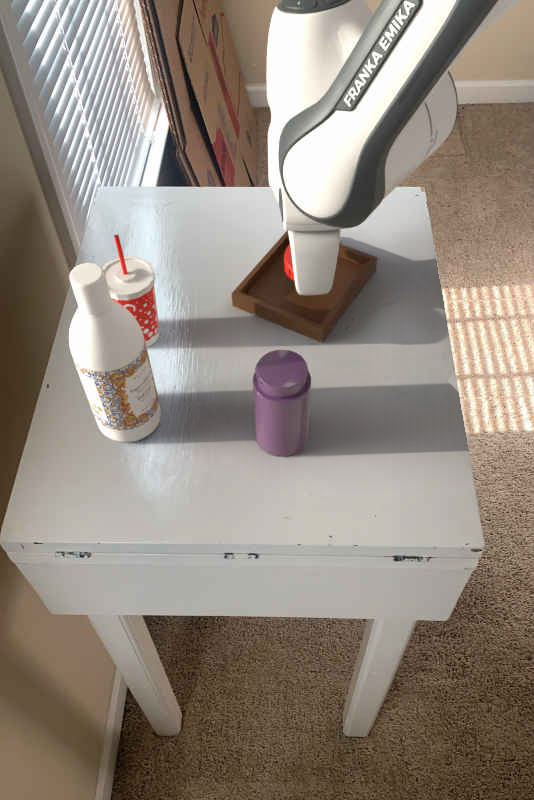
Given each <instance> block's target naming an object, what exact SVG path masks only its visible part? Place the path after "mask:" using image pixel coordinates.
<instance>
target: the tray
mask: <svg viewBox="0 0 534 800" xmlns="http://www.w3.org/2000/svg"><path fill="white" fill-rule="evenodd" d="M289 245H290V240H289V234H288V231H286V230H285V232H284V233H283V234H282V235H281V237H280V238H279V239H278V240H277V241H276V242H275V243H274V244H273V245H272V247H271V248H270V249H269V250H268V252H267V253H266V254H265V255H264V256H263V257H262V258H261V259H260V261H259V262H258V263H257V264H256V265H255V266H254V267H253V268H252V269H251V270H250V272H249V273H248V274H247V275H246V276H245V277H244V278H243V279H242V281H241V282H240V283H239V285H238V286H236V288H234V290H233V291H232V292H231V304H232V305H231V306H232V307H235V308H236V309H240V310H242V311H244V312H247V313H249V314H252V315H254V316H256V317H258V318H262V319H264V320H266V321H268V322H271V323H273V324H275V325H278V326H281V327H283V328H286V329H289V330H290V331H293V332H295V333H297V334H299V335H303V336H304V337H307V338H310V339H312V340H314V341H316V342H319V343H320V344H321V343H323V342H324V341H325V339H326V338H327V337H328V335H330V333H331V332H332V330H333V328H334V327H335V326H336V325H337V323H338V322H339V321H340V319H341V318H342V316H343V315H344V313H346V311H347V310H348V308H350V306H351V304H352V303H353V301H354V300H355V299H356V298H357V296H358V295H359V293H360V292H361V291H362V290H363V288H364V287H365V286H366V284H367V283H368V282H369V280H370V279H371V277H372V276H373V275H374V273H375V272H376V270H377V265H378V257H377V256H374V255H372V254H369V253H366V252H364V251H361V250H358V249H355V248H352V247H351V246H348V245H345V244H342V243H339V250H338V257H337V263H336V269H335V274H334V280H333V285H332V288H331V290H330V291H329V293H327V294H325V295H313V296H304V295H299V294H298V293H297V290H296V286H295V281H293V280H292V279H290V278H289V277H288V275H287V274H286V272H285V271H284V255H285V250H286V248H287V247H288V246H289Z"/></svg>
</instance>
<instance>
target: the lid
mask: <svg viewBox="0 0 534 800" xmlns="http://www.w3.org/2000/svg"><path fill="white" fill-rule="evenodd" d="M284 271H285V272H286V274H287V275H288V277H289V278H290V279H292V280H293V281H295V280H294V272H293V263H292V255H291V247H290V245H289V246H288V247H287V248H286V250H285V255H284Z"/></svg>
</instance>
